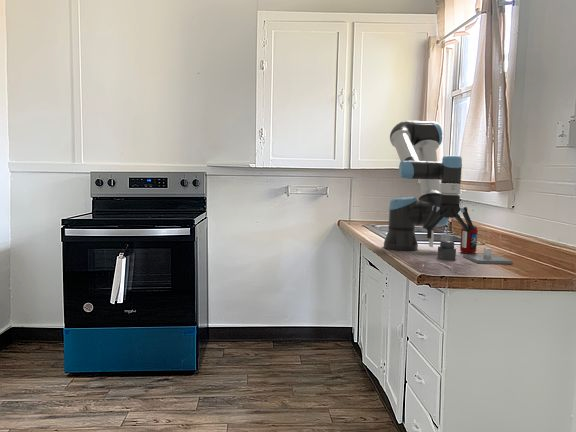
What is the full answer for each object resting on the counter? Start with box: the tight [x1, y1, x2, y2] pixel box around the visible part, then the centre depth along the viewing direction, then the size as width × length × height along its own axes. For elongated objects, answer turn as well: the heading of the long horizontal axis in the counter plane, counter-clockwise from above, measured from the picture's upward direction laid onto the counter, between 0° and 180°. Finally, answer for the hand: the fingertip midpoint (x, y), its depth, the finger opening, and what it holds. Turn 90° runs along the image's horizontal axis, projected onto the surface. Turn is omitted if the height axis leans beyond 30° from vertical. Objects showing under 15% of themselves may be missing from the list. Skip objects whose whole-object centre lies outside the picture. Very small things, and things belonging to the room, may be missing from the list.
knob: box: [437, 240, 457, 261], centre depth 204 cm, size 5×5×7 cm
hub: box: [462, 247, 514, 265], centre depth 203 cm, size 14×14×5 cm
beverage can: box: [459, 224, 479, 254], centre depth 221 cm, size 7×7×12 cm
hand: (447, 247), depth 203 cm, fingers open, 13 cm apart
